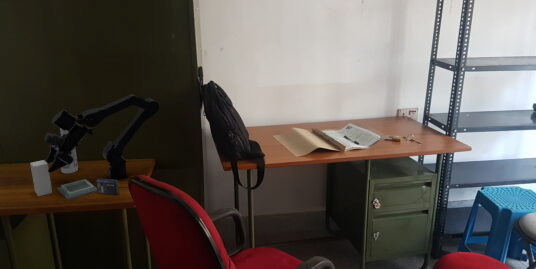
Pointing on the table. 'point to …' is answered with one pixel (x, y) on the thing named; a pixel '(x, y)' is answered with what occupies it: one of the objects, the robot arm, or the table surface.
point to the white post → (41, 177)
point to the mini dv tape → (107, 186)
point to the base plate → (77, 189)
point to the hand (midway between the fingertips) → (47, 168)
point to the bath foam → (73, 166)
